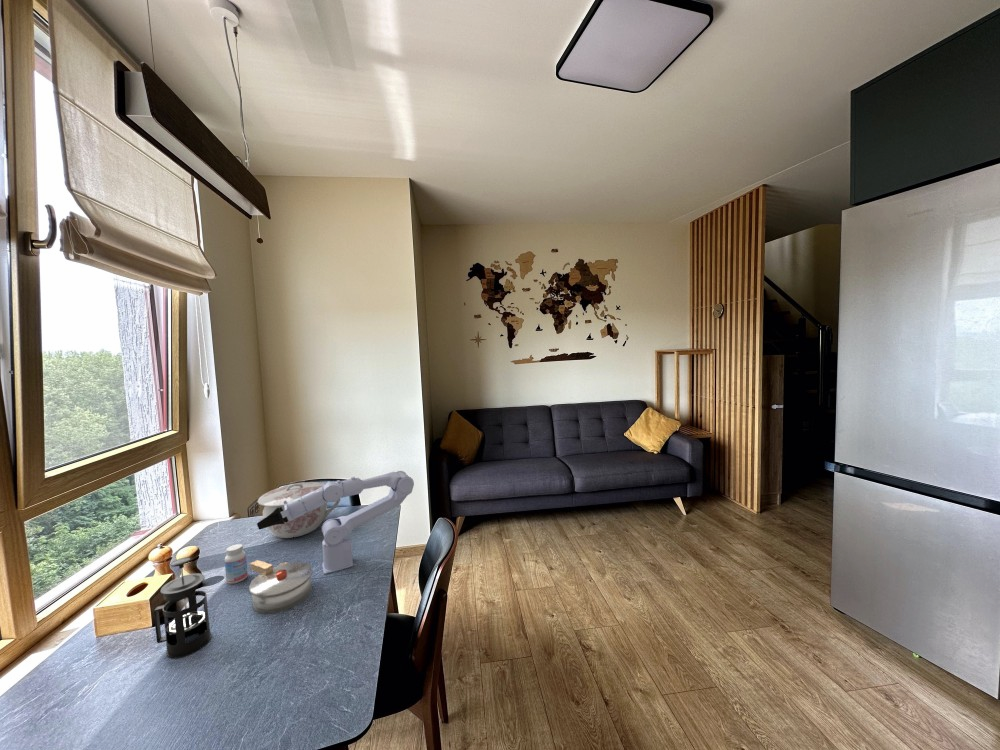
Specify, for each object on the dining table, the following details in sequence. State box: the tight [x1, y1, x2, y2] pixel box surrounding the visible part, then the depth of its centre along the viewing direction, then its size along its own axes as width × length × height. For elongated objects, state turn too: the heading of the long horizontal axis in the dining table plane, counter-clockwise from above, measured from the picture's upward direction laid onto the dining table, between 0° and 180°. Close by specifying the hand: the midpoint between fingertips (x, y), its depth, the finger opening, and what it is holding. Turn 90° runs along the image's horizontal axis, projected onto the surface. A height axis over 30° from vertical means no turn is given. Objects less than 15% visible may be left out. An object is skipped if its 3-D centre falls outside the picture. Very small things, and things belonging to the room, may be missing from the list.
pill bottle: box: [224, 543, 249, 585], centre depth 133 cm, size 6×6×11 cm
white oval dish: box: [251, 561, 313, 615], centre depth 125 cm, size 16×22×5 cm
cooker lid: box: [248, 559, 313, 597], centre depth 123 cm, size 22×17×3 cm
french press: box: [153, 556, 212, 659], centre depth 102 cm, size 12×9×23 cm
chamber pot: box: [257, 481, 341, 539], centre depth 168 cm, size 28×28×21 cm
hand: (259, 525), depth 126 cm, fingers open, 7 cm apart
